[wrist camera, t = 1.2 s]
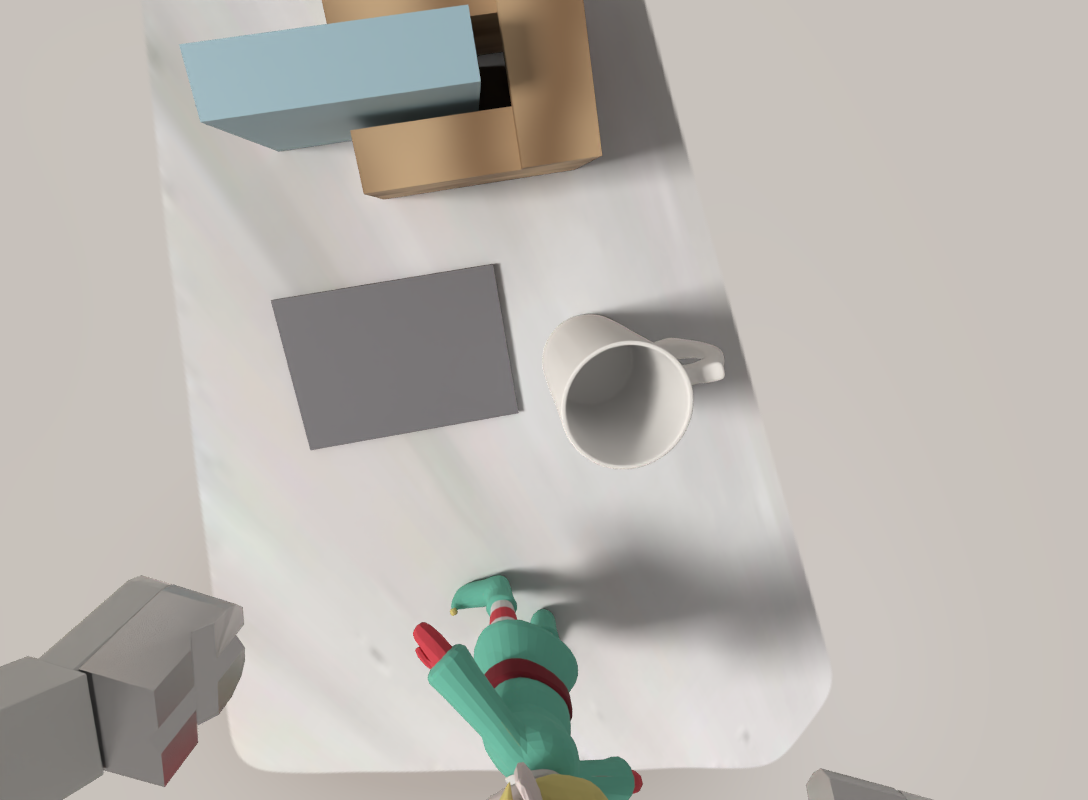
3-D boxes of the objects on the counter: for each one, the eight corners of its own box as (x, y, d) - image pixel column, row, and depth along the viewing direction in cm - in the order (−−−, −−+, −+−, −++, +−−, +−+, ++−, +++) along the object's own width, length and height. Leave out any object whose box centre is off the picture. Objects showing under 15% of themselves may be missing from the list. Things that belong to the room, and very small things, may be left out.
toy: (395, 564, 47) (280, 1098, 18) (469, 485, 46) (468, 919, 18) (570, 691, 52) (697, 1285, 23) (640, 622, 51) (866, 1149, 22)
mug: (551, 419, 46) (579, 485, 34) (525, 326, 44) (545, 362, 32) (691, 378, 46) (764, 430, 35) (670, 284, 44) (741, 305, 33)
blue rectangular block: (278, 151, 40) (200, 122, 28) (265, 97, 39) (179, 44, 27) (477, 121, 40) (480, 81, 29) (468, 68, 40) (468, 4, 28)
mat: (311, 448, 44) (310, 450, 44) (272, 300, 42) (270, 300, 41) (518, 411, 45) (518, 413, 45) (492, 263, 43) (493, 264, 42)
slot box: (383, 199, 41) (360, 193, 32) (345, 15, 38) (308, -45, 29) (574, 169, 42) (602, 155, 33) (550, -13, 39) (573, -80, 30)
